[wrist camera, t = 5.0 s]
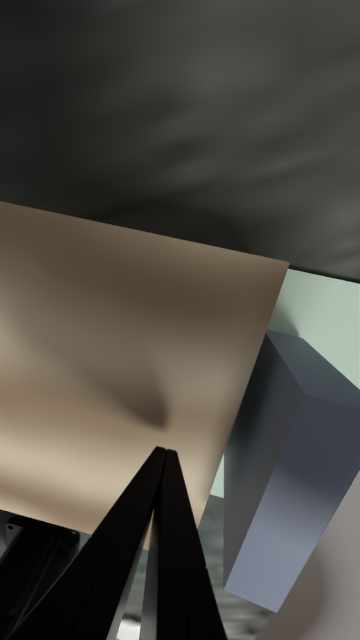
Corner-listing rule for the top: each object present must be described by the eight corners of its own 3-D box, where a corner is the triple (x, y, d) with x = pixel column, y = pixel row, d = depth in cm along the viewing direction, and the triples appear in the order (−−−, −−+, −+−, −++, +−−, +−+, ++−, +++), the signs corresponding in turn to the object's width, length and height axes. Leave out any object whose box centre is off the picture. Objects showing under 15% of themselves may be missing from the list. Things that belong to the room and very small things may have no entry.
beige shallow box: (190, 484, 15) (186, 560, 11) (47, 447, 15) (-3, 508, 12) (257, 262, 10) (290, 262, 7) (53, 219, 11) (-27, 195, 7)
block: (223, 455, 14) (254, 465, 13) (223, 589, 8) (276, 612, 8) (263, 329, 11) (302, 337, 11) (305, 394, 5) (389, 416, 5)
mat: (313, 516, 15) (315, 521, 14) (190, 484, 15) (190, 488, 15) (438, 300, 10) (445, 302, 10) (257, 262, 10) (259, 262, 10)
